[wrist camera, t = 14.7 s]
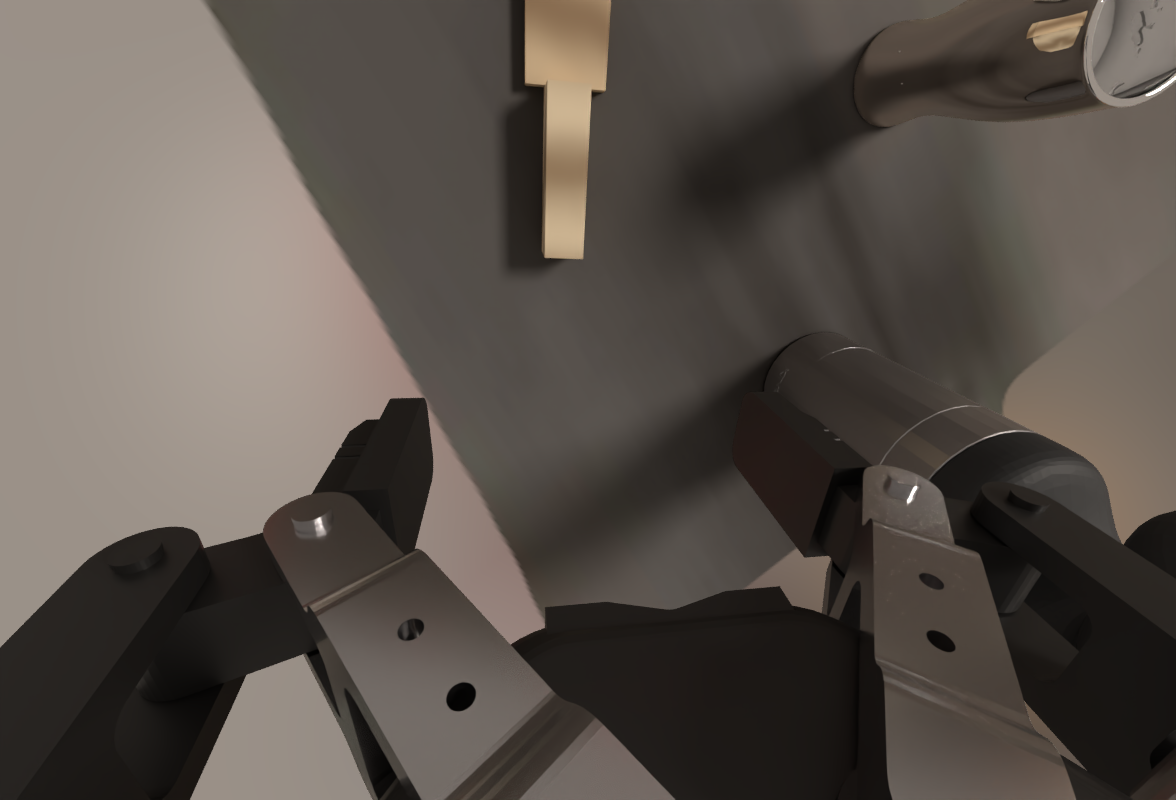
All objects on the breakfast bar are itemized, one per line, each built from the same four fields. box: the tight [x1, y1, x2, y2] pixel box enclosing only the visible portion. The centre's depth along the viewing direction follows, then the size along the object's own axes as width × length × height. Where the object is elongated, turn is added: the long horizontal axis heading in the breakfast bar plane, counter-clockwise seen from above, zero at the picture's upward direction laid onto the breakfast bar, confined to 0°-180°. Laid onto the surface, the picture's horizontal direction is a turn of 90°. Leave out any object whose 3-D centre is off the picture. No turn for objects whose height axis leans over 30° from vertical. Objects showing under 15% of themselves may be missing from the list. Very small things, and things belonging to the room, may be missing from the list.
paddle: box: [525, 0, 611, 259], centre depth 29 cm, size 16×5×3 cm, turn 177°
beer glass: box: [854, 0, 1176, 127], centre depth 26 cm, size 7×7×15 cm
